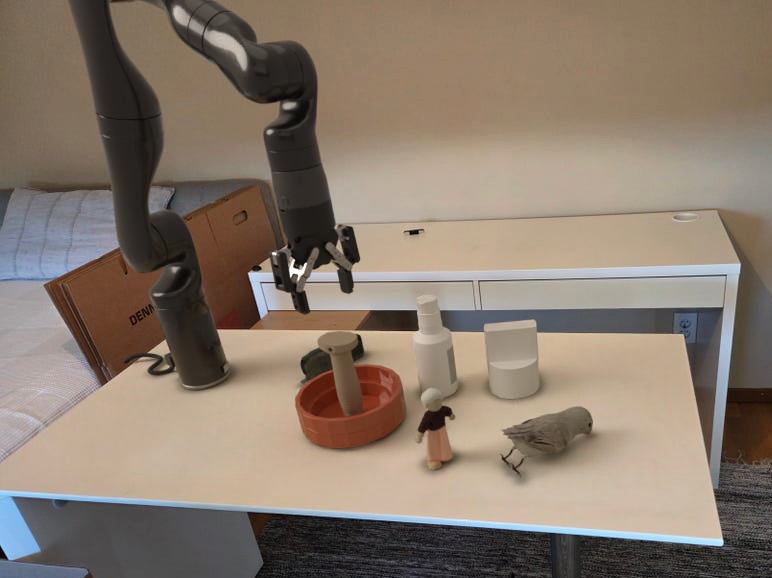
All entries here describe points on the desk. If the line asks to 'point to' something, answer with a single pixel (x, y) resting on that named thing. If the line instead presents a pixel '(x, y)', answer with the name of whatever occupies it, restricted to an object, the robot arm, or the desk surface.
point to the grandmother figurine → (435, 428)
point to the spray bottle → (434, 349)
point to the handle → (344, 369)
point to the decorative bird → (548, 433)
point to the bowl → (337, 431)
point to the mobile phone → (324, 361)
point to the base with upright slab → (512, 358)
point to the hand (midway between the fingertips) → (326, 302)
